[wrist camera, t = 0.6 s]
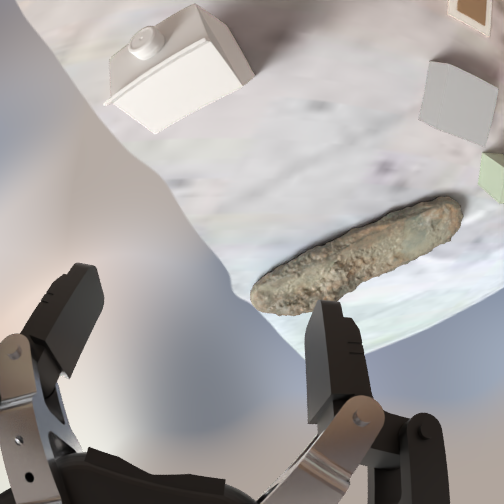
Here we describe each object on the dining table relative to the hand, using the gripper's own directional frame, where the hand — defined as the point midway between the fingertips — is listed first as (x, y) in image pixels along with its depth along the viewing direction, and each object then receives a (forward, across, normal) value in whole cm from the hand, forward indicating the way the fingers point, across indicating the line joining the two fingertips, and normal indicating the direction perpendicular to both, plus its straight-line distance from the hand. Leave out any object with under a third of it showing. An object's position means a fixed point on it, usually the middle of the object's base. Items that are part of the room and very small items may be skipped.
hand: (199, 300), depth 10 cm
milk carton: (+28, +5, -6) cm, 29 cm away
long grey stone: (+28, -17, +16) cm, 37 cm away
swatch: (+28, -24, -24) cm, 44 cm away
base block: (+28, -24, -9) cm, 38 cm away
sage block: (+28, -35, -2) cm, 45 cm away
